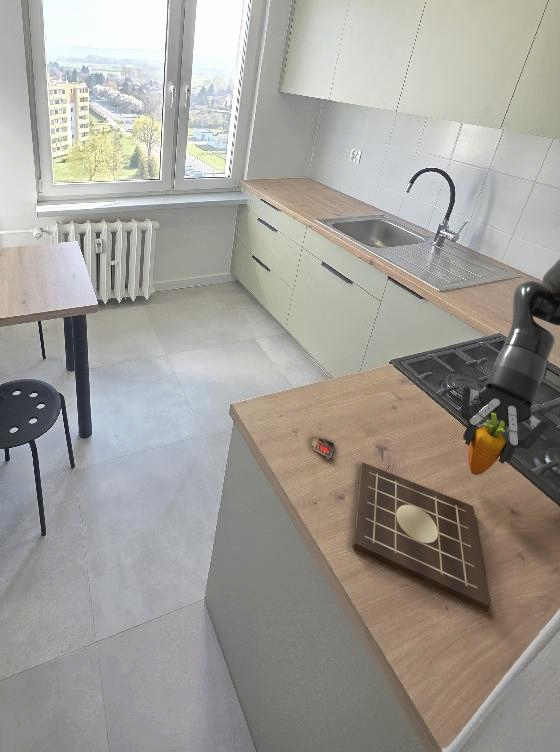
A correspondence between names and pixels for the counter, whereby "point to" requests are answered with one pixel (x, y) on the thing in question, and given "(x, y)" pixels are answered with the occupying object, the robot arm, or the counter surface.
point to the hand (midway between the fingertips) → (484, 452)
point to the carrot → (486, 446)
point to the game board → (420, 534)
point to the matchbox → (323, 447)
